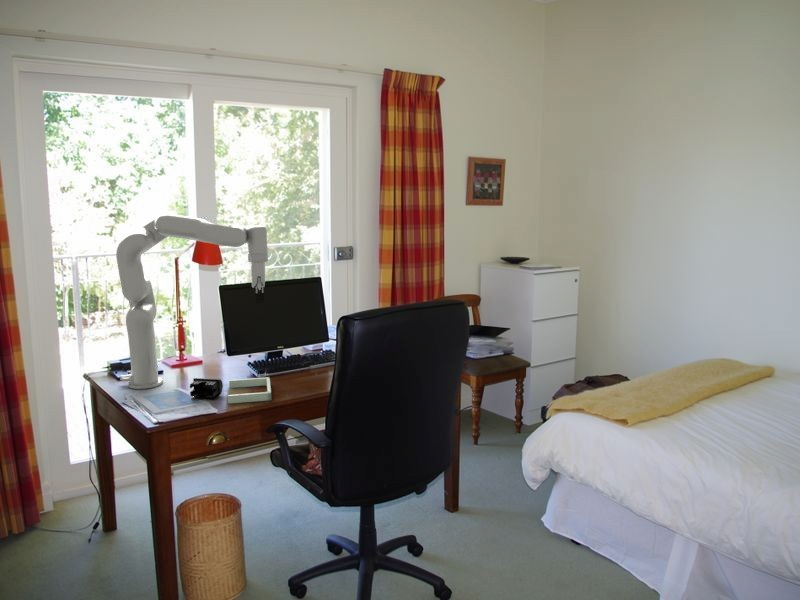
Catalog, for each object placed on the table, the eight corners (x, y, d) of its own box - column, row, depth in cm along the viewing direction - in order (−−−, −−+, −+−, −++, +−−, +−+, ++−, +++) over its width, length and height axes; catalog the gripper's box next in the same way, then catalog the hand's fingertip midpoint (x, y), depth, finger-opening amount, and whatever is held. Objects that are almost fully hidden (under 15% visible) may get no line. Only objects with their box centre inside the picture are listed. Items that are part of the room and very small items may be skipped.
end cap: (223, 394, 244) (222, 376, 242) (215, 400, 237) (214, 383, 236) (198, 393, 245) (196, 375, 244) (189, 399, 238) (188, 381, 237)
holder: (228, 403, 234) (227, 396, 233) (229, 386, 252) (229, 380, 251) (271, 400, 237) (271, 392, 237) (269, 383, 255) (269, 377, 254)
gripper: (248, 255, 262) (250, 296, 266) (248, 261, 246) (250, 305, 249) (267, 254, 264) (268, 295, 268) (268, 260, 248) (270, 304, 251)
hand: (259, 300), depth 258 cm, fingers open, 9 cm apart
